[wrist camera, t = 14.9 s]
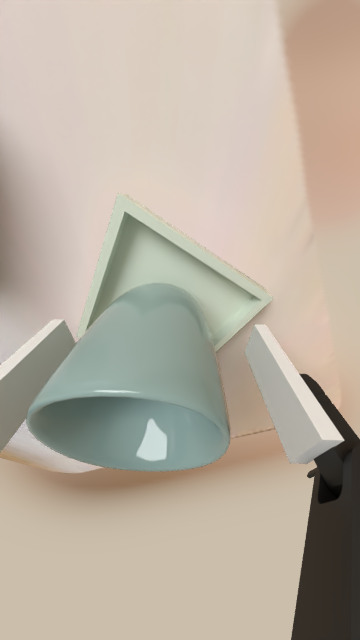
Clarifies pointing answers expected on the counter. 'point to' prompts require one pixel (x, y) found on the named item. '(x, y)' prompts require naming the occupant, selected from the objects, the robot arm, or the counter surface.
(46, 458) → the counter surface
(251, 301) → the tray
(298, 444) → the robot arm
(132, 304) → the cup
